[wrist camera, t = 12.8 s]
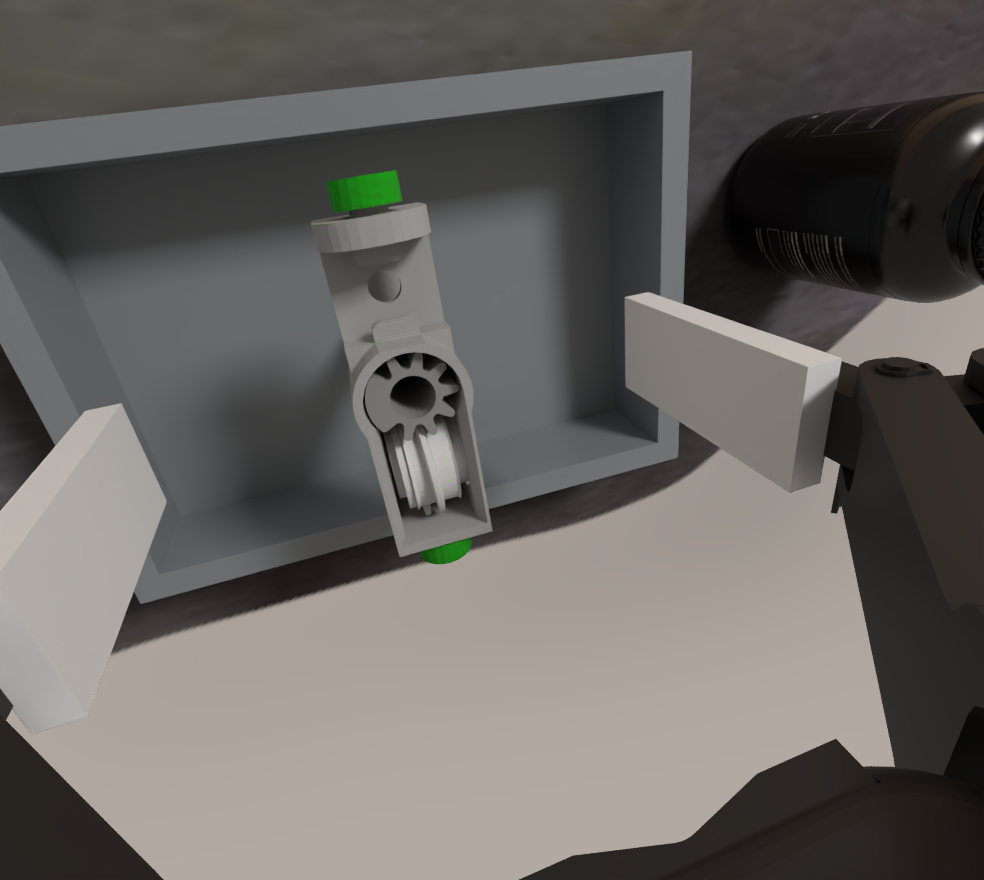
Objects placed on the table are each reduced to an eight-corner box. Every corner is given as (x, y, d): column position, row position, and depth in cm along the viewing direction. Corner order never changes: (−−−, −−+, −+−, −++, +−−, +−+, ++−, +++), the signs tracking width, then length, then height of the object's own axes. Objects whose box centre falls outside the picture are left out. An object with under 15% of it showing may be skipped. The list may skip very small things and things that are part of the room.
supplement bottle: (837, 252, 29) (1134, 298, 19) (720, 286, 28) (967, 356, 17) (851, 99, 26) (1220, 51, 15) (720, 130, 25) (1024, 102, 14)
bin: (169, 528, 25) (140, 604, 21) (-11, 146, 18) (-111, 138, 14) (622, 415, 29) (677, 457, 25) (617, 73, 22) (692, 50, 18)
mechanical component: (388, 172, 21) (434, 164, 12) (440, 424, 25) (501, 553, 16) (306, 186, 20) (290, 187, 11) (374, 440, 25) (401, 582, 16)
